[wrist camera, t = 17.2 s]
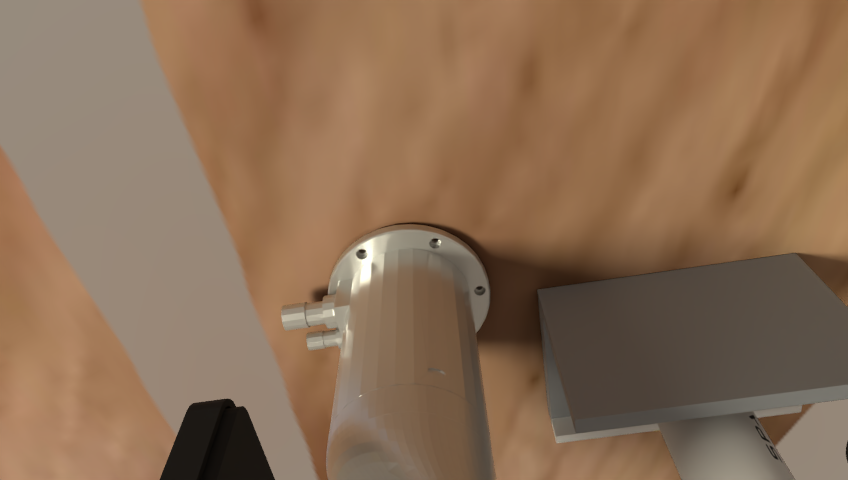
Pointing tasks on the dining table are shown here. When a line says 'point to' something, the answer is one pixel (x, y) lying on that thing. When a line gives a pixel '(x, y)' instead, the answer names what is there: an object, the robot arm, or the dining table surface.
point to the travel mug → (723, 449)
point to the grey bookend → (691, 346)
